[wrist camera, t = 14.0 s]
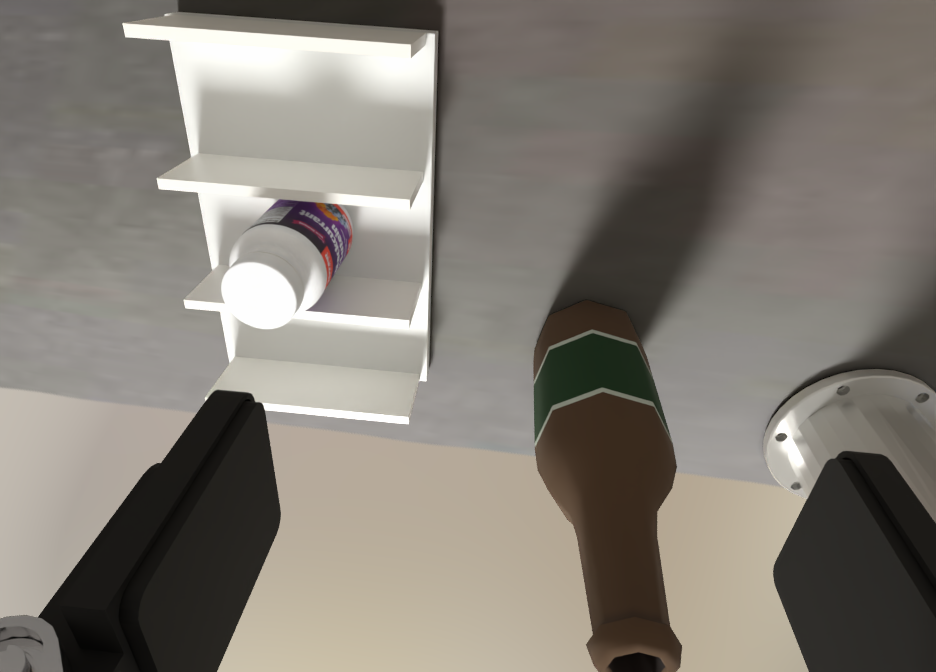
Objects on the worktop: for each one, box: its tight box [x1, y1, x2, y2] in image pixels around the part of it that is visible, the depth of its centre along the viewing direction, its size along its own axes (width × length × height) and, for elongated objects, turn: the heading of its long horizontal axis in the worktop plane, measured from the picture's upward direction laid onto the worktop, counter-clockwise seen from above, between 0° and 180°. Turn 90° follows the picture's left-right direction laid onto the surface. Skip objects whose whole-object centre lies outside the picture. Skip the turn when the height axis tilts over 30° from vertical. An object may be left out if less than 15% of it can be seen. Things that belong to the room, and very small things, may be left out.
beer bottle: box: [534, 300, 682, 672], centre depth 34 cm, size 8×8×24 cm
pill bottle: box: [221, 199, 354, 329], centre depth 35 cm, size 5×5×10 cm
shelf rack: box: [123, 12, 438, 424], centre depth 38 cm, size 15×23×6 cm, turn 177°
